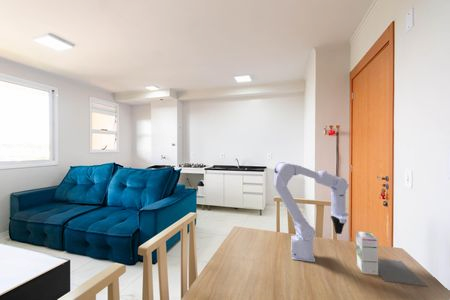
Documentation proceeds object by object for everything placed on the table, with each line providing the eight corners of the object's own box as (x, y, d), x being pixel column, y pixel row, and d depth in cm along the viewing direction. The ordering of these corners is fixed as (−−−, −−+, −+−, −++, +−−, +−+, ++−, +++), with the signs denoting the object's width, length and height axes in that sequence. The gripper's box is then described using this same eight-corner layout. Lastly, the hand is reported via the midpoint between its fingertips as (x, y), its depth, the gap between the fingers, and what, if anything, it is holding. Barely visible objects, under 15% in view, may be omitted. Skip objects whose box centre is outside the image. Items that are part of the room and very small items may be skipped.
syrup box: (378, 275, 80) (378, 238, 79) (361, 273, 81) (361, 236, 81) (371, 266, 85) (371, 231, 85) (355, 265, 86) (355, 231, 86)
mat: (384, 280, 76) (384, 280, 76) (366, 258, 92) (366, 257, 92) (427, 286, 73) (427, 285, 73) (401, 261, 88) (401, 261, 88)
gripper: (353, 208, 86) (353, 241, 86) (343, 199, 100) (343, 227, 100) (334, 207, 87) (335, 239, 88) (327, 199, 101) (327, 226, 102)
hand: (338, 233), depth 94 cm, fingers closed
